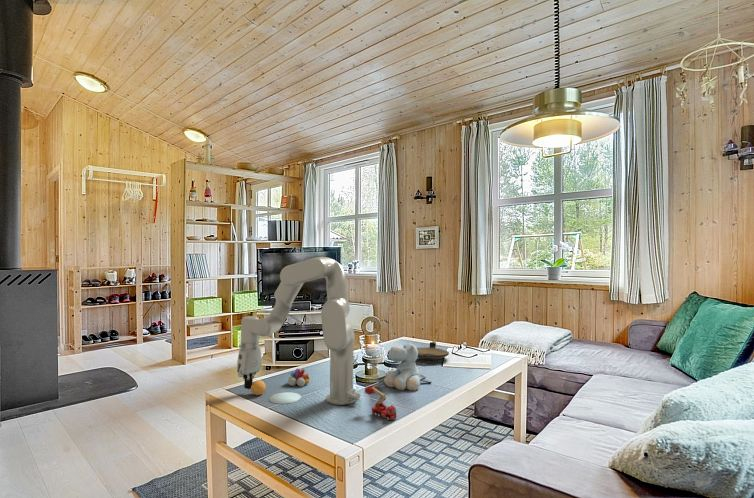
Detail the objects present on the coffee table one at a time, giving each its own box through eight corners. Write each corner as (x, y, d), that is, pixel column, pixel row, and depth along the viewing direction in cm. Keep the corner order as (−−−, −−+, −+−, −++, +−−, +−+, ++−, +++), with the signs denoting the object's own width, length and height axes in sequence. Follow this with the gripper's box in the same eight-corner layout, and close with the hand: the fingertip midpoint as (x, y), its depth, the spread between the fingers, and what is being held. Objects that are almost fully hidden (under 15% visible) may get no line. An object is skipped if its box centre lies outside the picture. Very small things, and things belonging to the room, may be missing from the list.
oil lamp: (400, 360, 233) (400, 347, 233) (428, 350, 256) (428, 338, 256) (435, 367, 219) (435, 353, 219) (461, 356, 243) (461, 343, 243)
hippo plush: (379, 380, 198) (379, 341, 198) (425, 377, 202) (425, 339, 202) (388, 393, 180) (388, 350, 180) (438, 390, 184) (438, 348, 184)
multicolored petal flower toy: (305, 388, 186) (305, 372, 186) (285, 386, 188) (285, 370, 188) (312, 382, 195) (312, 366, 195) (292, 381, 196) (292, 365, 196)
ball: (258, 390, 182) (268, 393, 179) (247, 395, 176) (258, 398, 174) (258, 377, 181) (268, 380, 178) (248, 381, 176) (258, 384, 173)
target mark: (307, 396, 175) (307, 395, 175) (285, 406, 164) (285, 405, 164) (284, 390, 182) (284, 390, 182) (262, 399, 171) (262, 399, 171)
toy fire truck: (392, 421, 150) (392, 395, 150) (364, 411, 159) (364, 386, 159) (397, 419, 152) (397, 392, 152) (370, 409, 162) (370, 384, 162)
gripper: (241, 350, 170) (240, 395, 170) (268, 343, 183) (267, 385, 183) (229, 347, 174) (228, 391, 174) (257, 341, 187) (255, 381, 187)
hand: (248, 388), depth 179 cm, fingers closed
